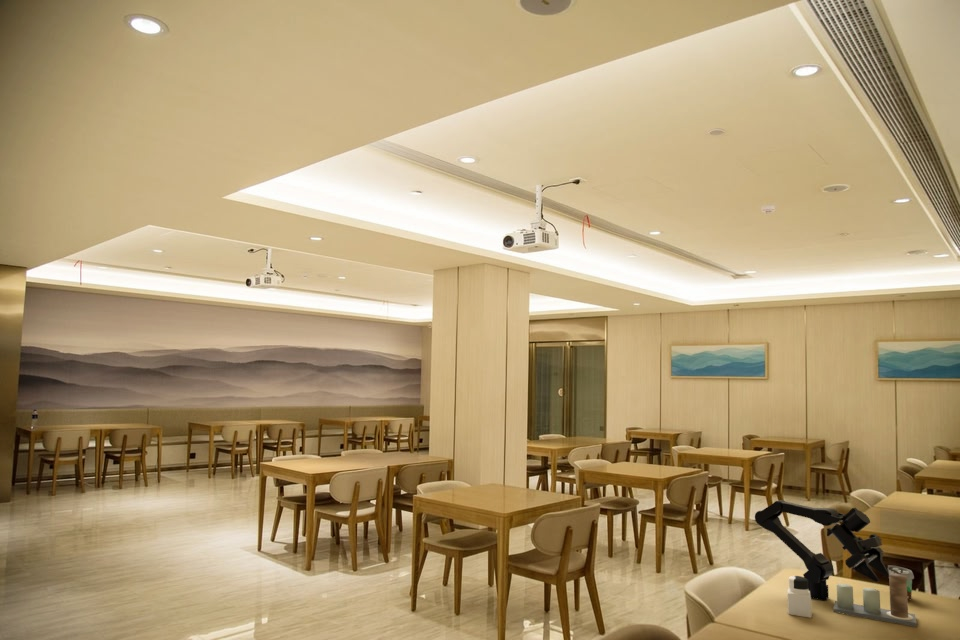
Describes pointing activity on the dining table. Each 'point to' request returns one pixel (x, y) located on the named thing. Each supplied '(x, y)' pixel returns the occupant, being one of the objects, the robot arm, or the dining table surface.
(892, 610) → the walnut post
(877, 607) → the sage posts
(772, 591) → the dining table surface
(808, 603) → the medicine bottle
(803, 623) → the dining table surface
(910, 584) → the food container
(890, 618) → the slate board
